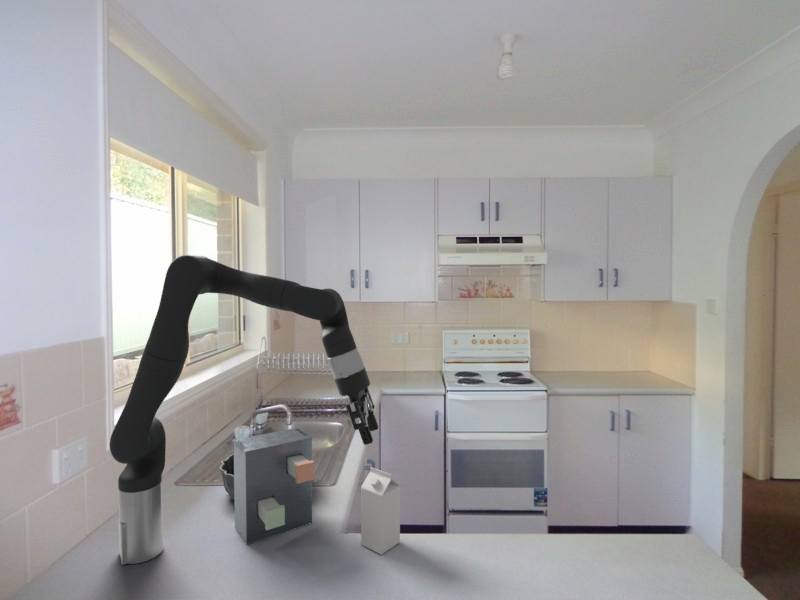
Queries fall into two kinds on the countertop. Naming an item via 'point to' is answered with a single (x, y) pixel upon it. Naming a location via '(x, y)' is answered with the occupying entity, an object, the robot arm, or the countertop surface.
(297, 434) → the control panel
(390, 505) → the milk carton
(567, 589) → the countertop surface
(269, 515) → the sage button
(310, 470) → the terracotta button
